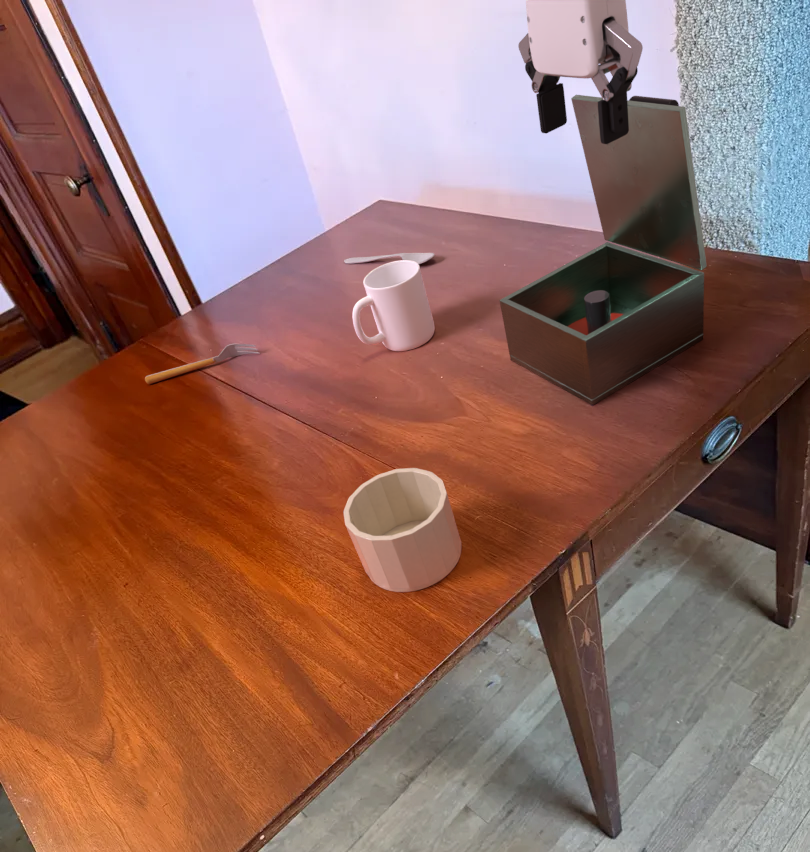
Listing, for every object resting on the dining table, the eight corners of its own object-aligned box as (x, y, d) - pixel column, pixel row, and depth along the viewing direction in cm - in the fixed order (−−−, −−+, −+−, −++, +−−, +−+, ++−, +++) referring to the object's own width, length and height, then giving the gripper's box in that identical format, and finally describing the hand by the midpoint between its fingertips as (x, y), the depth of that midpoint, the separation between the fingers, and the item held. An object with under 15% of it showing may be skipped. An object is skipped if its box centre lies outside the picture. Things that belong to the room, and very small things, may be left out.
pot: (469, 518, 80) (454, 465, 75) (451, 592, 73) (434, 538, 68) (379, 521, 84) (359, 470, 79) (354, 592, 77) (331, 541, 72)
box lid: (679, 111, 73) (715, 83, 74) (570, 98, 85) (602, 74, 86) (701, 270, 86) (732, 246, 87) (604, 240, 98) (631, 219, 99)
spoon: (429, 269, 128) (427, 260, 126) (338, 266, 139) (335, 258, 138) (442, 258, 130) (439, 248, 129) (351, 255, 141) (348, 247, 140)
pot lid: (646, 316, 98) (644, 268, 93) (646, 363, 90) (644, 313, 86) (560, 326, 102) (554, 280, 97) (553, 372, 94) (546, 325, 90)
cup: (446, 332, 110) (430, 267, 104) (379, 370, 108) (358, 306, 101) (417, 317, 116) (400, 255, 109) (352, 353, 113) (331, 291, 107)
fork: (141, 380, 122) (255, 343, 119) (142, 372, 123) (254, 336, 121) (149, 390, 124) (261, 355, 122) (150, 382, 125) (261, 347, 123)
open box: (592, 405, 89) (585, 340, 83) (510, 359, 100) (499, 300, 95) (703, 339, 92) (704, 272, 87) (611, 302, 104) (607, 241, 98)
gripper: (666, -91, 62) (670, 128, 74) (539, -73, 75) (559, 112, 86) (596, -61, 61) (611, 158, 72) (478, -48, 73) (507, 138, 84)
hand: (583, 133), depth 79 cm, fingers open, 9 cm apart
